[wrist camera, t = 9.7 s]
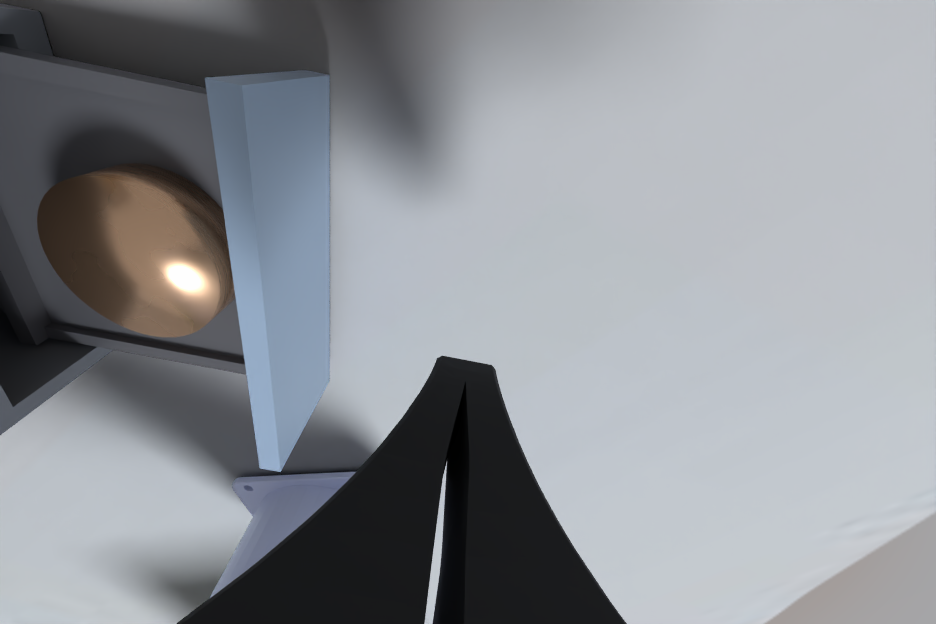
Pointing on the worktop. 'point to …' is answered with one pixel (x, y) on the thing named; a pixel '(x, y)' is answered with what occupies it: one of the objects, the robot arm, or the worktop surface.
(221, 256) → the puck
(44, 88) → the tray
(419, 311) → the worktop surface
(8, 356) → the box
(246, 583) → the robot arm
